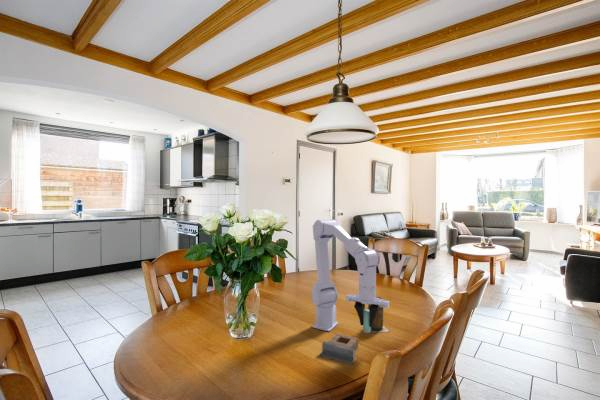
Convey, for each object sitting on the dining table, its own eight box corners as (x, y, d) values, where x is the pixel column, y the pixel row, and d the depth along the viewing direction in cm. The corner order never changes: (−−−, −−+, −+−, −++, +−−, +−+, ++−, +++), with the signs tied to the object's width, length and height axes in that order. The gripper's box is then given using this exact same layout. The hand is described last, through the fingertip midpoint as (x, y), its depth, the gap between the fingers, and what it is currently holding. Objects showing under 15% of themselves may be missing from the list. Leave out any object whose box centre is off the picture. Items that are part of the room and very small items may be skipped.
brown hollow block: (336, 342, 112) (336, 333, 112) (358, 348, 108) (358, 338, 108) (327, 352, 105) (328, 342, 105) (350, 358, 101) (350, 347, 101)
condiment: (379, 323, 130) (379, 295, 130) (389, 331, 121) (389, 301, 121) (363, 324, 128) (363, 296, 128) (373, 333, 120) (373, 303, 120)
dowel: (364, 328, 107) (364, 308, 107) (371, 330, 105) (371, 310, 105) (362, 331, 104) (362, 311, 104) (369, 333, 103) (369, 312, 103)
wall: (323, 351, 105) (324, 341, 105) (354, 359, 100) (354, 349, 100) (319, 355, 102) (320, 345, 102) (351, 364, 97) (351, 353, 97)
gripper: (343, 285, 105) (342, 324, 105) (385, 292, 98) (385, 334, 98) (350, 280, 111) (349, 317, 111) (390, 286, 104) (390, 326, 104)
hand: (366, 325), depth 105 cm, fingers closed on dowel, 3 cm apart
